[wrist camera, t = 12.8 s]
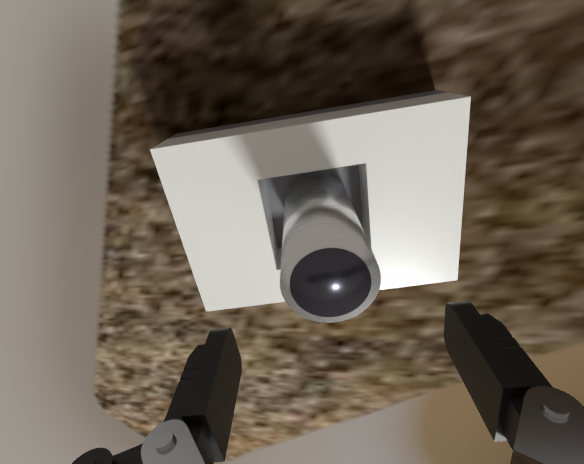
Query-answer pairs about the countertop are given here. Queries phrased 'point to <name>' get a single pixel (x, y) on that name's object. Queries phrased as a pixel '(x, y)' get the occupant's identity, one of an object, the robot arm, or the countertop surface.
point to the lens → (325, 252)
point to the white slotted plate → (328, 159)
